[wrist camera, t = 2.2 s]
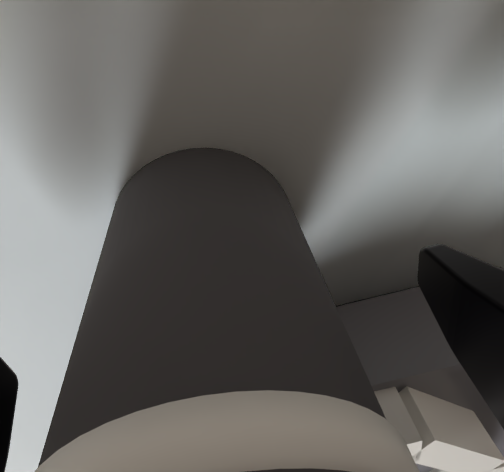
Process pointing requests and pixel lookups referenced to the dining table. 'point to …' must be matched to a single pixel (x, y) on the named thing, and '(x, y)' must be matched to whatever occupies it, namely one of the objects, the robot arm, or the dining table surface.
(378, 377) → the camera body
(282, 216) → the lens
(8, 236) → the dining table surface
